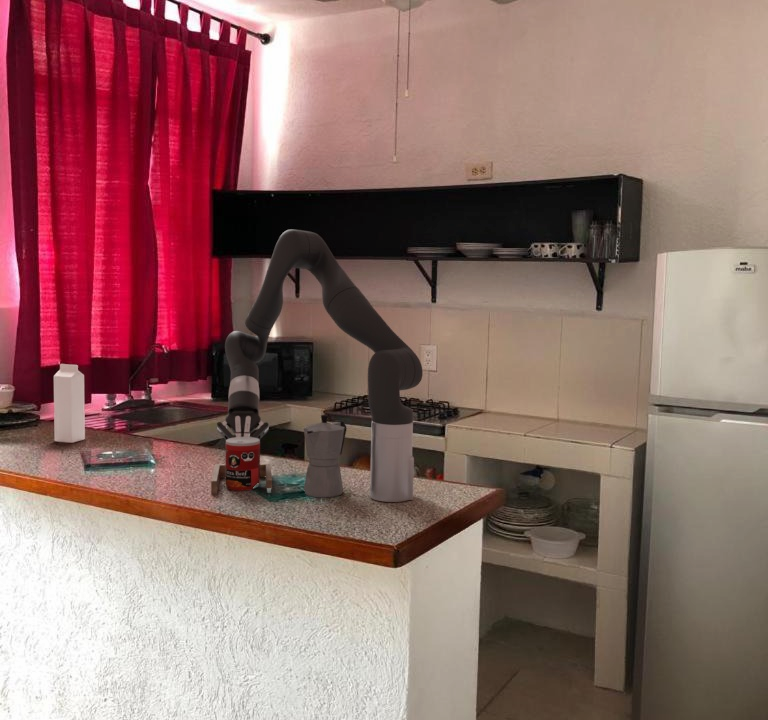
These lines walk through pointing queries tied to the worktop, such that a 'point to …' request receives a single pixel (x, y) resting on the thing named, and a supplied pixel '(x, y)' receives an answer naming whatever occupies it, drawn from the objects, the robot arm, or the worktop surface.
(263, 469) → the walnut u-shaped block
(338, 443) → the coffeepot
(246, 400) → the robot arm
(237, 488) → the canned food
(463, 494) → the worktop surface
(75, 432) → the milk
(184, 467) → the worktop surface
